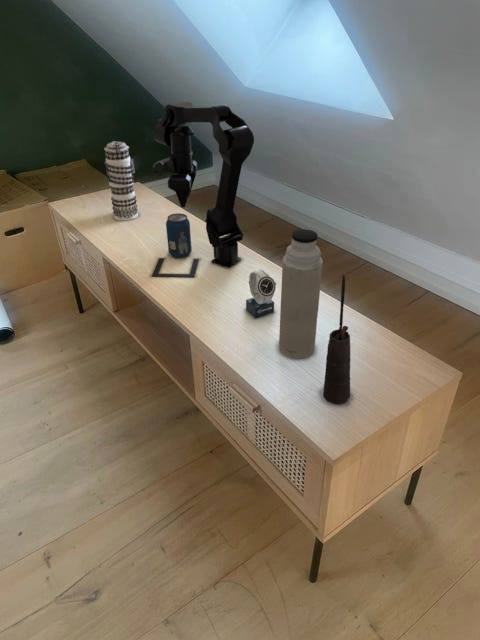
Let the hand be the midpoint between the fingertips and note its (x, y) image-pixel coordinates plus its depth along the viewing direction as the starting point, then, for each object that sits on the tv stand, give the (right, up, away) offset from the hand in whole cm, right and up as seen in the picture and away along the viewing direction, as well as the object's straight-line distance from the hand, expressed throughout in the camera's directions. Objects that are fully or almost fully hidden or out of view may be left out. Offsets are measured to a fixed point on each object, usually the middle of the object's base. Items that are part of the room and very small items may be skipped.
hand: (185, 201), depth 153 cm
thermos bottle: (+29, -43, -40) cm, 66 cm away
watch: (+22, -34, -28) cm, 49 cm away
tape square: (-2, -21, -8) cm, 22 cm away
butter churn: (+36, -51, -52) cm, 81 cm away
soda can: (-1, -16, -1) cm, 16 cm away
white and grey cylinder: (-24, +1, +24) cm, 34 cm away
